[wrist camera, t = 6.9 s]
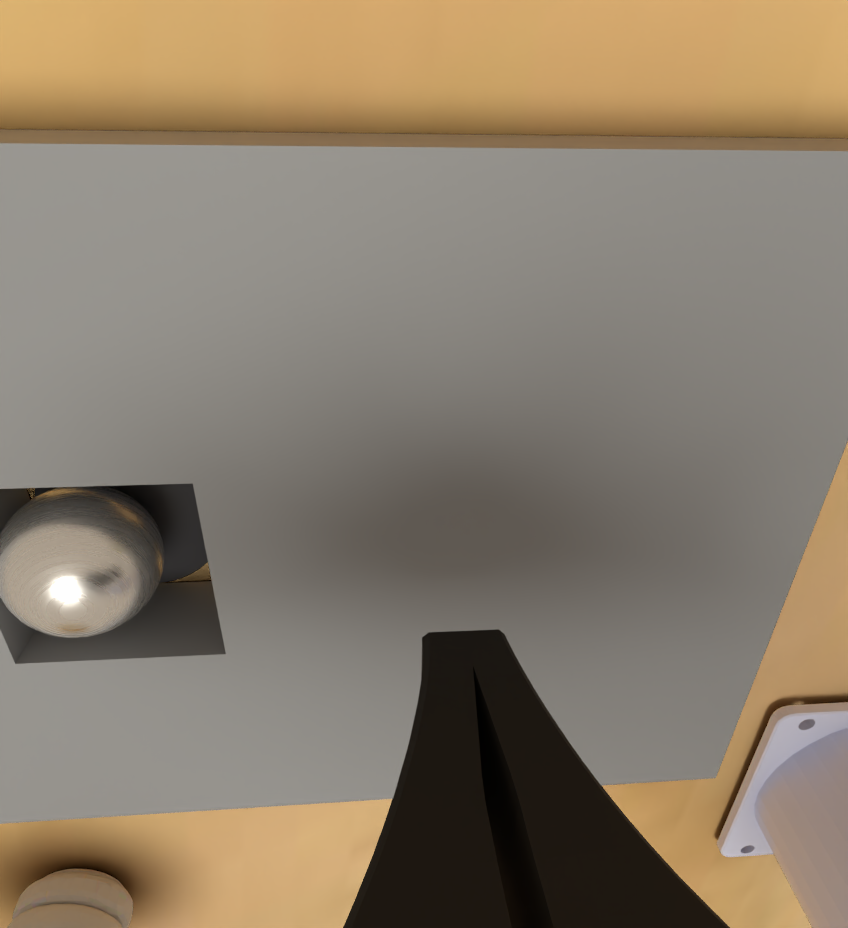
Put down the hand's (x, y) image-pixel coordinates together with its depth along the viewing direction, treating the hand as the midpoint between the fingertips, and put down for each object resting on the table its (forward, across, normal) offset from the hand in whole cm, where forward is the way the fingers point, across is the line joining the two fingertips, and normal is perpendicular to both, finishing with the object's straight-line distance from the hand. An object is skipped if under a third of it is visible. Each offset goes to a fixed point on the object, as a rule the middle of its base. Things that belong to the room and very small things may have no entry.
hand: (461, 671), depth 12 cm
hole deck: (+5, +2, 0) cm, 6 cm away
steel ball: (+3, +8, 0) cm, 8 cm away
